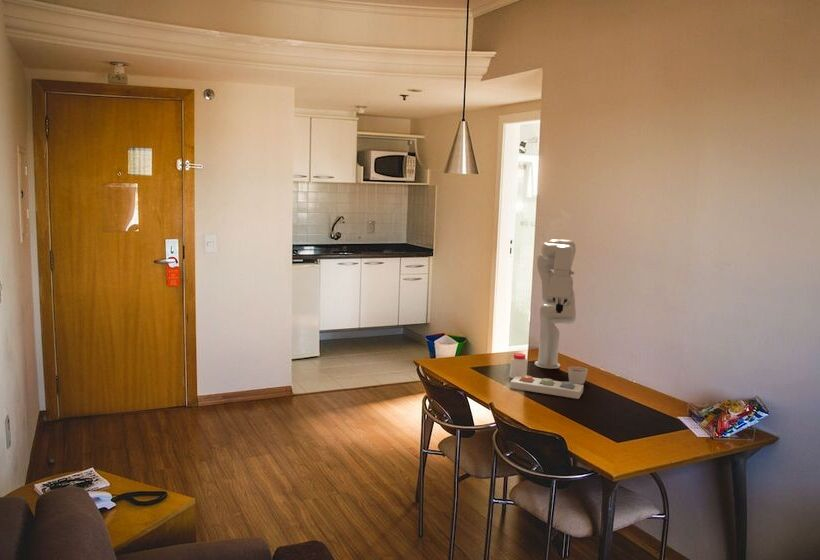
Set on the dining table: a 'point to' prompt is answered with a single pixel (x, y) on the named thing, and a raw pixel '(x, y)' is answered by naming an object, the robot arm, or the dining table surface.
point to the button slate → (567, 385)
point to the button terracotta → (527, 378)
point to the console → (547, 387)
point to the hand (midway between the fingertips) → (559, 312)
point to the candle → (577, 374)
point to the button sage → (547, 382)
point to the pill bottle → (518, 365)
